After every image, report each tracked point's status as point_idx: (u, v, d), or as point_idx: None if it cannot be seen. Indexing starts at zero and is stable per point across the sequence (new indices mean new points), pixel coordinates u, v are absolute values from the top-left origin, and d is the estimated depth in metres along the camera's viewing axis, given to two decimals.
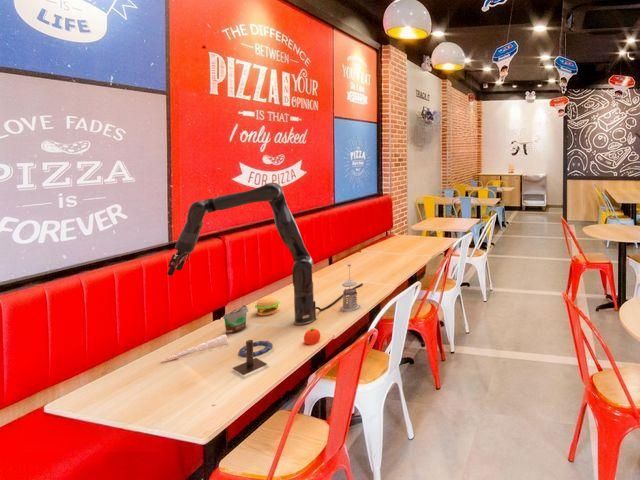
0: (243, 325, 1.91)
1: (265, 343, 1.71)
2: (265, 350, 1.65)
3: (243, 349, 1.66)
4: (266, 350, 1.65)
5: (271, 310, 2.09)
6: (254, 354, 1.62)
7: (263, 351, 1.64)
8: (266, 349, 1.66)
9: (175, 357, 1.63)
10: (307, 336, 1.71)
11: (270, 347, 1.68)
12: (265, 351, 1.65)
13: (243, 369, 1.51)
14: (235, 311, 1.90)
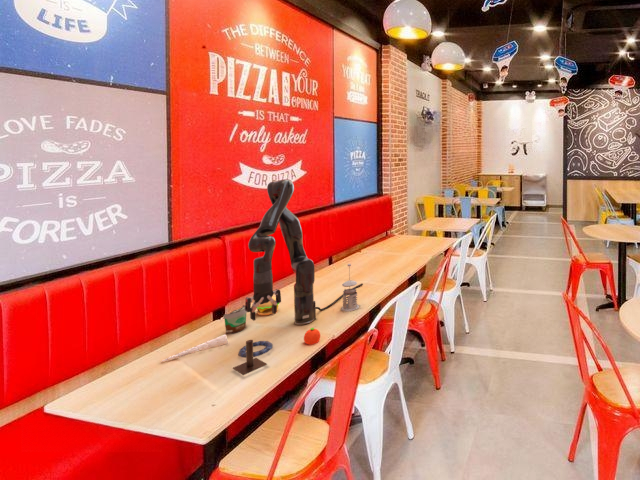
0: (243, 325, 1.91)
1: (265, 343, 1.71)
2: (265, 350, 1.65)
3: (243, 349, 1.66)
4: (266, 350, 1.65)
5: (271, 310, 2.09)
6: (254, 354, 1.62)
7: (263, 351, 1.64)
8: (266, 349, 1.66)
9: (175, 357, 1.63)
10: (307, 336, 1.71)
11: (270, 347, 1.68)
12: (265, 351, 1.65)
13: (243, 369, 1.51)
14: (235, 311, 1.90)
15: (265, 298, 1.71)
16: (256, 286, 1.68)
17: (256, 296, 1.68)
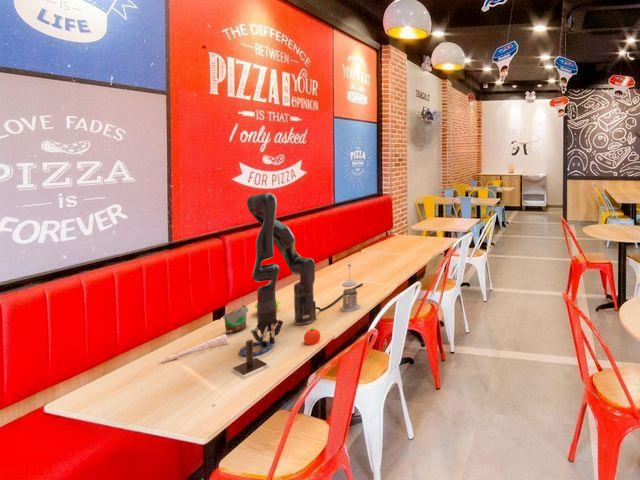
0: (243, 325, 1.91)
1: None
2: (265, 350, 1.65)
3: (243, 349, 1.66)
4: (266, 350, 1.65)
5: None
6: (254, 354, 1.62)
7: (263, 351, 1.64)
8: (266, 349, 1.66)
9: (175, 357, 1.63)
10: (307, 336, 1.71)
11: (270, 347, 1.68)
12: (265, 351, 1.65)
13: (243, 369, 1.51)
14: (235, 311, 1.90)
15: (269, 326, 1.71)
16: (260, 315, 1.68)
17: (260, 325, 1.68)
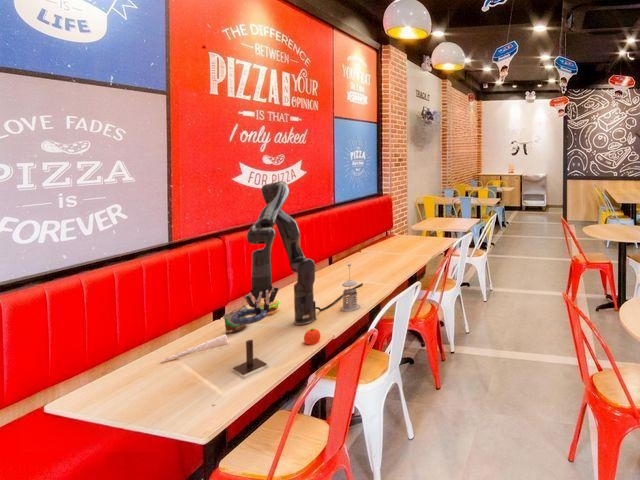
0: (243, 325, 1.91)
1: None
2: (258, 316, 1.56)
3: (236, 315, 1.57)
4: (260, 316, 1.57)
5: (271, 310, 2.09)
6: (247, 319, 1.53)
7: (256, 317, 1.56)
8: (260, 315, 1.57)
9: (175, 357, 1.63)
10: (307, 336, 1.71)
11: (264, 314, 1.59)
12: (259, 317, 1.56)
13: (243, 369, 1.51)
14: (235, 311, 1.90)
15: (263, 292, 1.63)
16: (254, 279, 1.60)
17: (254, 290, 1.60)
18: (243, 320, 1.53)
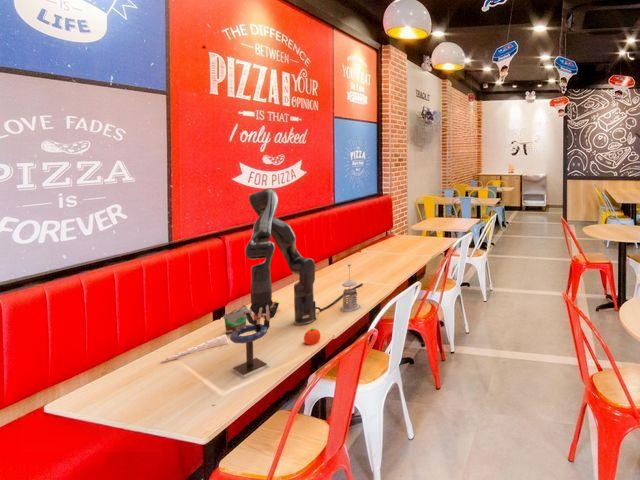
0: (243, 325, 1.91)
1: None
2: (259, 333, 1.52)
3: (235, 332, 1.52)
4: (260, 333, 1.52)
5: None
6: (247, 338, 1.49)
7: (257, 334, 1.51)
8: (260, 332, 1.52)
9: (175, 357, 1.63)
10: (307, 336, 1.71)
11: (265, 330, 1.55)
12: (259, 334, 1.51)
13: (243, 369, 1.51)
14: (235, 311, 1.90)
15: (263, 308, 1.58)
16: (254, 295, 1.55)
17: (254, 306, 1.55)
18: (243, 338, 1.48)
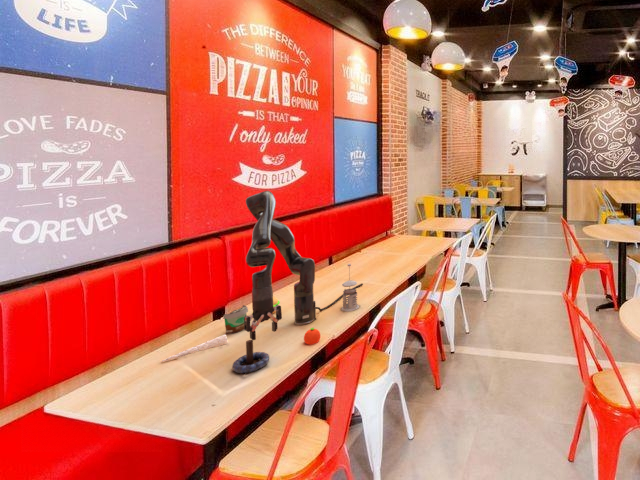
0: (243, 325, 1.91)
1: (261, 354, 1.58)
2: (261, 362, 1.52)
3: (237, 362, 1.52)
4: (263, 362, 1.52)
5: None
6: (250, 367, 1.49)
7: (259, 363, 1.51)
8: (263, 361, 1.53)
9: (175, 357, 1.63)
10: (307, 336, 1.71)
11: (267, 359, 1.55)
12: (262, 363, 1.52)
13: None
14: (235, 311, 1.90)
15: (265, 315, 1.58)
16: (255, 303, 1.55)
17: (256, 314, 1.55)
18: (246, 368, 1.49)
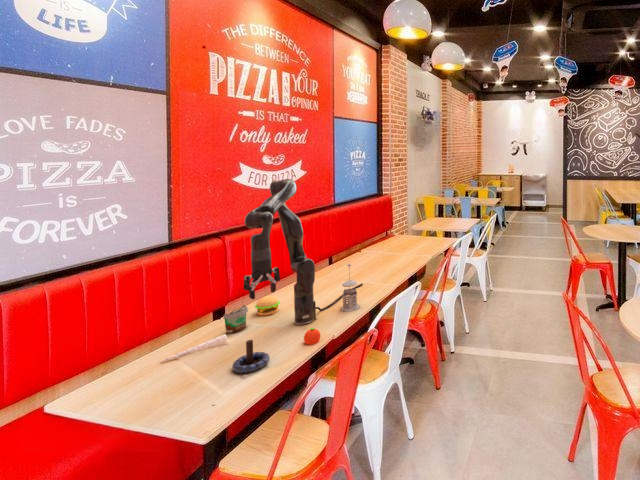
0: (243, 325, 1.91)
1: (261, 354, 1.58)
2: (261, 362, 1.52)
3: (237, 362, 1.52)
4: (263, 362, 1.52)
5: (271, 310, 2.09)
6: (250, 367, 1.49)
7: (259, 363, 1.51)
8: (263, 361, 1.53)
9: (175, 357, 1.63)
10: (307, 336, 1.71)
11: (267, 359, 1.55)
12: (262, 363, 1.52)
13: None
14: (235, 311, 1.90)
15: (264, 276, 1.64)
16: (254, 263, 1.60)
17: (255, 274, 1.61)
18: (246, 368, 1.49)
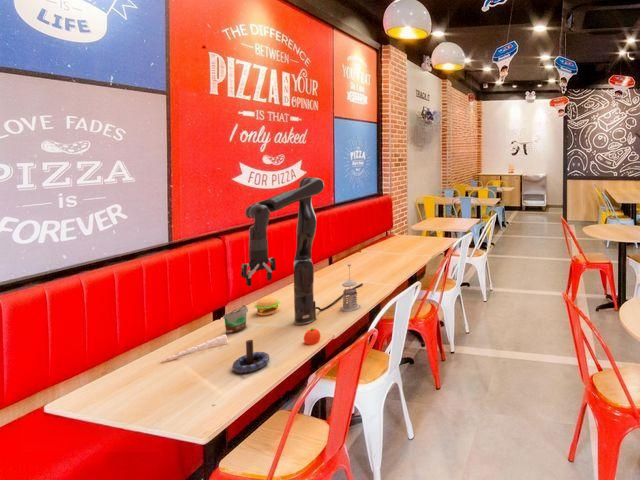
0: (243, 325, 1.91)
1: (261, 354, 1.58)
2: (261, 362, 1.52)
3: (237, 362, 1.52)
4: (263, 362, 1.52)
5: (271, 310, 2.09)
6: (250, 367, 1.49)
7: (259, 363, 1.51)
8: (263, 361, 1.53)
9: (175, 357, 1.63)
10: (307, 336, 1.71)
11: (267, 359, 1.55)
12: (262, 363, 1.52)
13: None
14: (235, 311, 1.90)
15: (260, 265, 1.74)
16: (251, 253, 1.71)
17: (252, 263, 1.71)
18: (246, 368, 1.49)
